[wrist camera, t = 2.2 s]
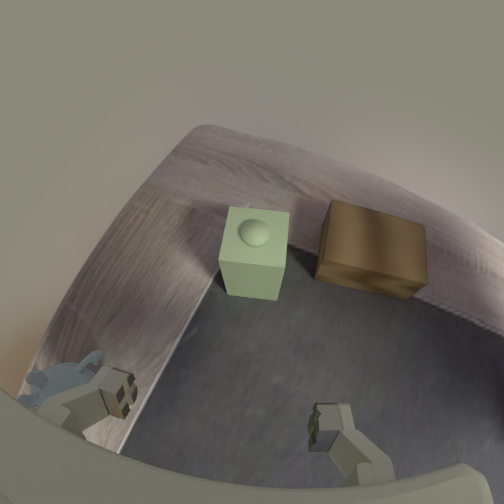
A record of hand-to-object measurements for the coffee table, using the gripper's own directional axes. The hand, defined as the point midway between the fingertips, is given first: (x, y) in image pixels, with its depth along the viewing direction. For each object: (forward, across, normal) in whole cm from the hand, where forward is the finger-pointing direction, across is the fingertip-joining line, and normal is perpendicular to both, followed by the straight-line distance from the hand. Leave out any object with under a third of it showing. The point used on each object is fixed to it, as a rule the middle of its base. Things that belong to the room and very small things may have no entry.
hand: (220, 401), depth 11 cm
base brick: (+21, -12, 0) cm, 24 cm away
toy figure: (+8, +14, +13) cm, 21 cm away
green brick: (+19, 0, +2) cm, 19 cm away
